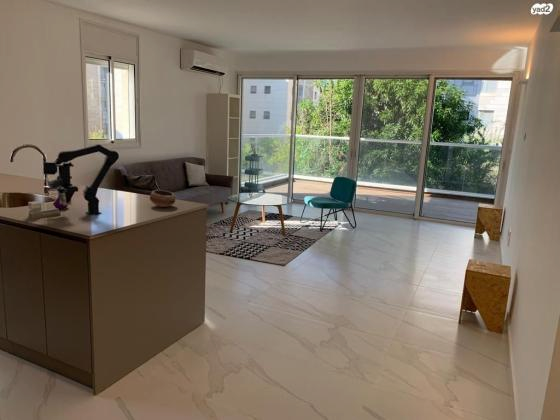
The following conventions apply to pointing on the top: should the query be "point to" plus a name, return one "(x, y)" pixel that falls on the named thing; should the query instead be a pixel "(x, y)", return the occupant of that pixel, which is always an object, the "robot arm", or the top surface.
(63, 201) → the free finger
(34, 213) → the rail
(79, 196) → the top surface
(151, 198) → the bowl
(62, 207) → the perfume bottle
